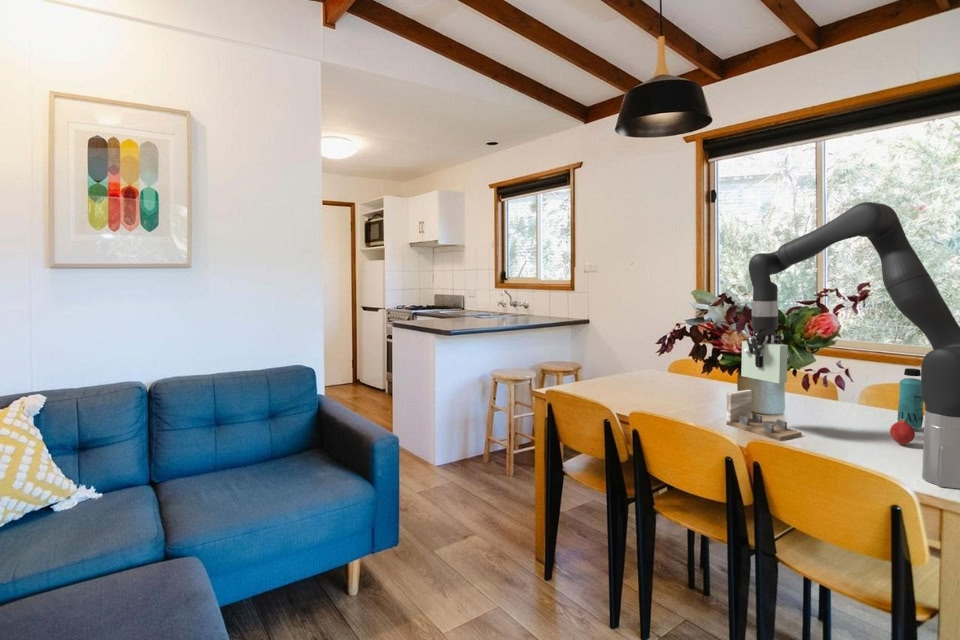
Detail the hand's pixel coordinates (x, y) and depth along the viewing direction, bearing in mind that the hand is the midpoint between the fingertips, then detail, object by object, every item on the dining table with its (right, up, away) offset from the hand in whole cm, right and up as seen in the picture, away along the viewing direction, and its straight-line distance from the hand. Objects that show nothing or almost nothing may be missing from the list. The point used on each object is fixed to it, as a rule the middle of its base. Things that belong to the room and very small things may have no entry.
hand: (763, 366), depth 169 cm
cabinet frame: (+1, -21, +2) cm, 21 cm away
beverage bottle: (+47, -20, -2) cm, 51 cm away
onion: (+32, -22, -16) cm, 42 cm away
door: (0, -4, 0) cm, 4 cm away
